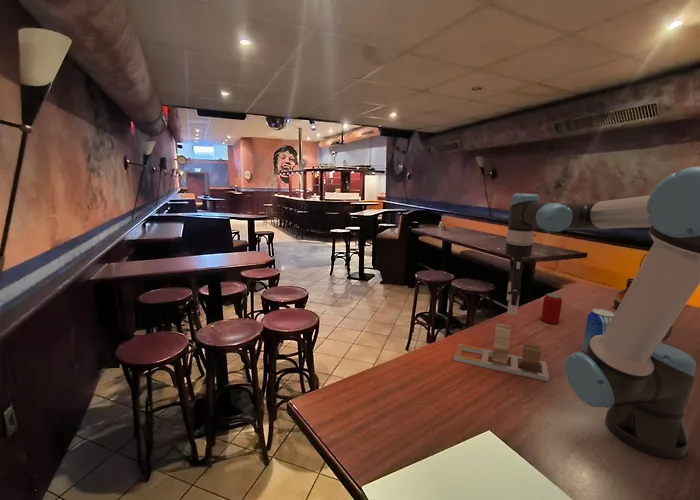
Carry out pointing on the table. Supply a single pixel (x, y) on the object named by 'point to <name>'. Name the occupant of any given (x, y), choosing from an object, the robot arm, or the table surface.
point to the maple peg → (501, 344)
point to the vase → (621, 294)
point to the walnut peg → (531, 357)
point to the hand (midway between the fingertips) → (511, 306)
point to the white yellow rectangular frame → (495, 366)
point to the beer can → (596, 324)
